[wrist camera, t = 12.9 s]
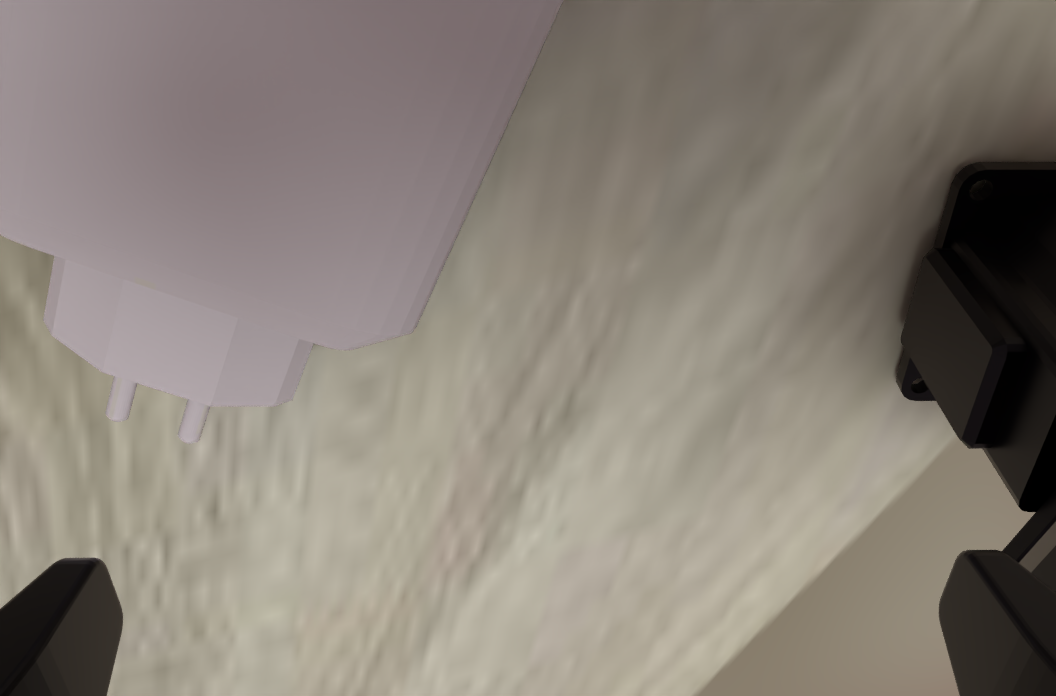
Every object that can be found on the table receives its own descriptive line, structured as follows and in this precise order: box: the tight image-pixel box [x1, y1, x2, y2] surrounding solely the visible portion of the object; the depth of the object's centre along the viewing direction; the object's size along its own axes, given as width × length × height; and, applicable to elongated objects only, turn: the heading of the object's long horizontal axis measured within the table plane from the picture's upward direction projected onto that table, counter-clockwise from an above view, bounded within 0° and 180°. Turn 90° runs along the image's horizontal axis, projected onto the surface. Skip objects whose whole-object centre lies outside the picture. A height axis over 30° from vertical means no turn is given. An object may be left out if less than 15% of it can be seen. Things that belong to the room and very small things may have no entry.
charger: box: [0, 0, 563, 443], centre depth 19 cm, size 5×9×15 cm
